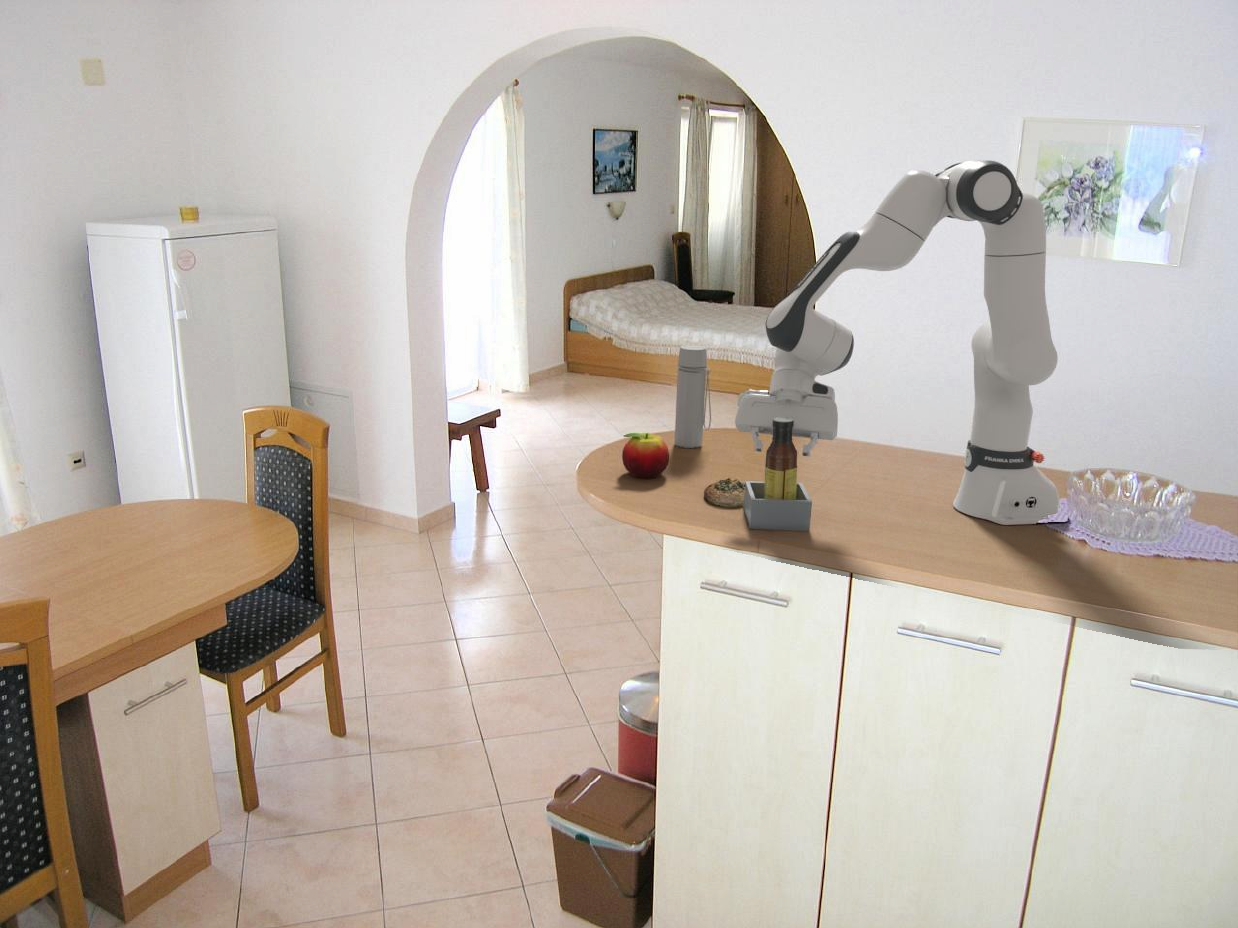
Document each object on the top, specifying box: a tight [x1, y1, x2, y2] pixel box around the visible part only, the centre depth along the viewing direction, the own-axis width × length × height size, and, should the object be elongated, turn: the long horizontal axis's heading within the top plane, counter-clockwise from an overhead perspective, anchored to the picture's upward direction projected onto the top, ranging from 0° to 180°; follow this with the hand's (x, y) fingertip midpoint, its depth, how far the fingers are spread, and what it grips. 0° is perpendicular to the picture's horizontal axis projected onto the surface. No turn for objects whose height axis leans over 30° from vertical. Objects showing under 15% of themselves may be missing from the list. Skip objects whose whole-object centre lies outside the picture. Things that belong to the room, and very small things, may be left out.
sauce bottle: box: [764, 417, 798, 500], centre depth 187 cm, size 6×6×20 cm
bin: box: [743, 480, 813, 532], centre depth 190 cm, size 12×12×6 cm
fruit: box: [621, 432, 670, 479], centre depth 215 cm, size 11×11×10 cm
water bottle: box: [674, 344, 712, 449], centre depth 237 cm, size 9×8×25 cm
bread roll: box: [703, 477, 745, 508], centre depth 201 cm, size 11×11×5 cm
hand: (781, 452), depth 187 cm, fingers open, 8 cm apart
